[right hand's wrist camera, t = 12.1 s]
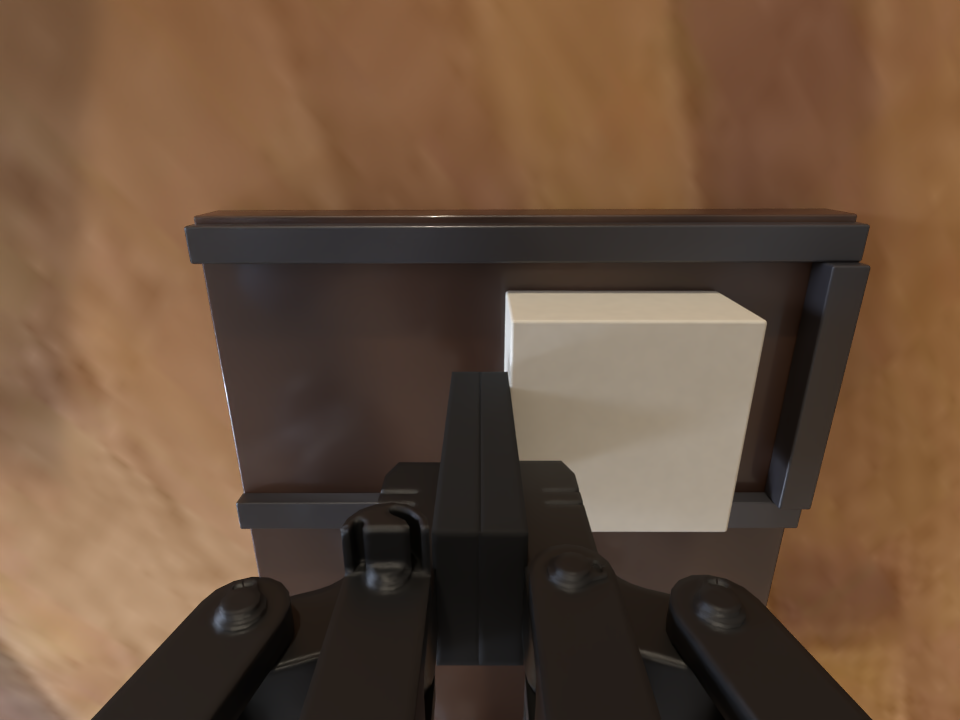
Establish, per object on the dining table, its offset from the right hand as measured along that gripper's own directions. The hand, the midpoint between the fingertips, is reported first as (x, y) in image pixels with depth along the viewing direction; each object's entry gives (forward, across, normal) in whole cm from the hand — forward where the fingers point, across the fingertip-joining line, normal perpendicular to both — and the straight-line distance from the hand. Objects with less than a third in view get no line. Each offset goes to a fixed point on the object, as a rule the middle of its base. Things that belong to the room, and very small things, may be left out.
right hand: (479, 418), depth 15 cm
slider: (+2, +4, 0) cm, 4 cm away
